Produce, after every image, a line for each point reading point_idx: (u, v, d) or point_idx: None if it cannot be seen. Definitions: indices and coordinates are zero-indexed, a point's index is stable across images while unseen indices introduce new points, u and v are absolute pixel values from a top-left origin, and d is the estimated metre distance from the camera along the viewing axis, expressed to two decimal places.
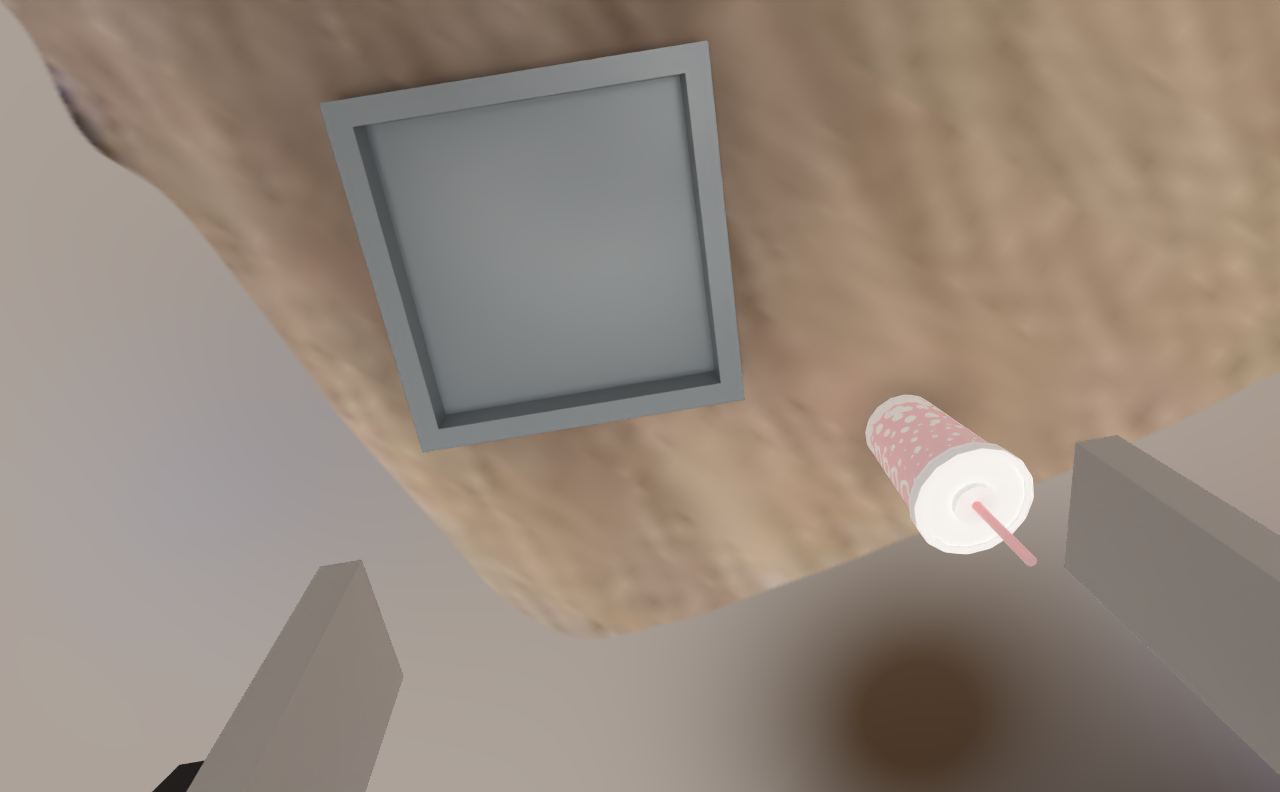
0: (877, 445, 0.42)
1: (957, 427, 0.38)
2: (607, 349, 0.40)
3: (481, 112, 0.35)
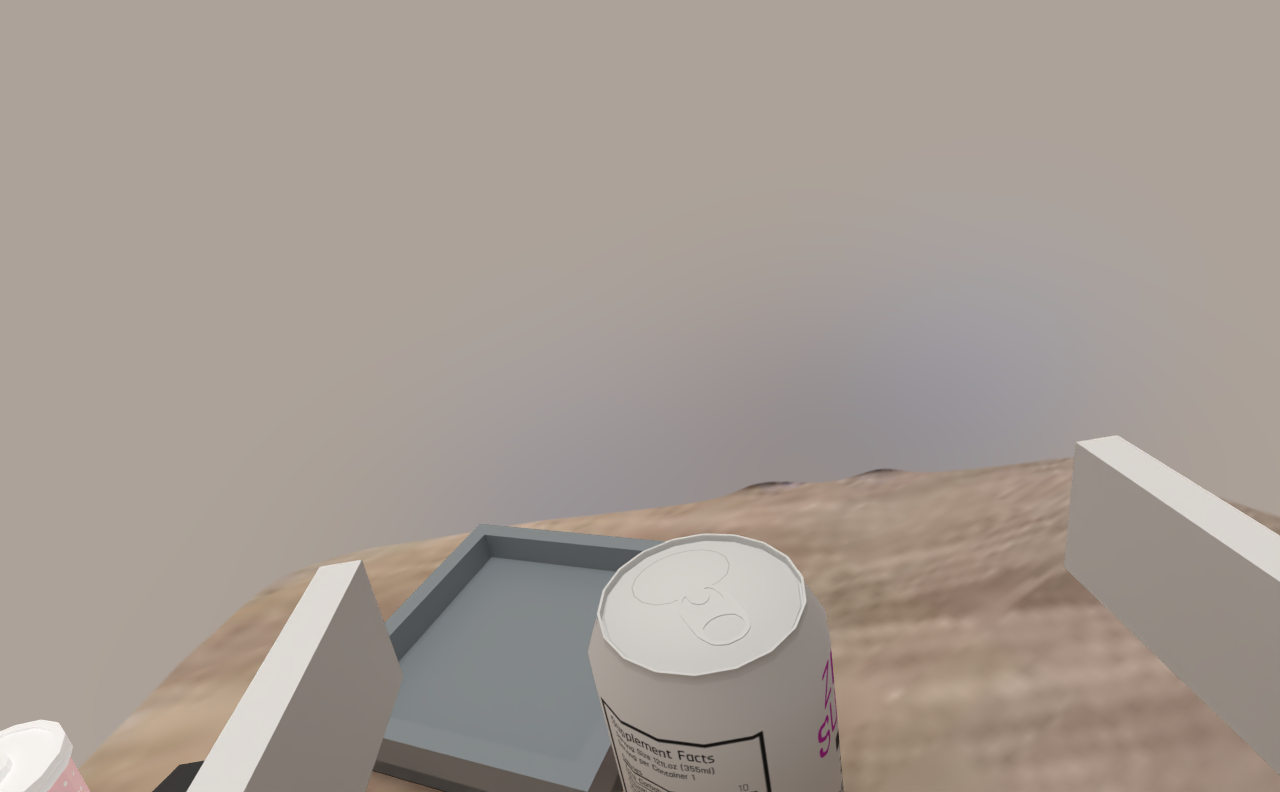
0: None
1: None
2: (436, 658, 0.44)
3: None
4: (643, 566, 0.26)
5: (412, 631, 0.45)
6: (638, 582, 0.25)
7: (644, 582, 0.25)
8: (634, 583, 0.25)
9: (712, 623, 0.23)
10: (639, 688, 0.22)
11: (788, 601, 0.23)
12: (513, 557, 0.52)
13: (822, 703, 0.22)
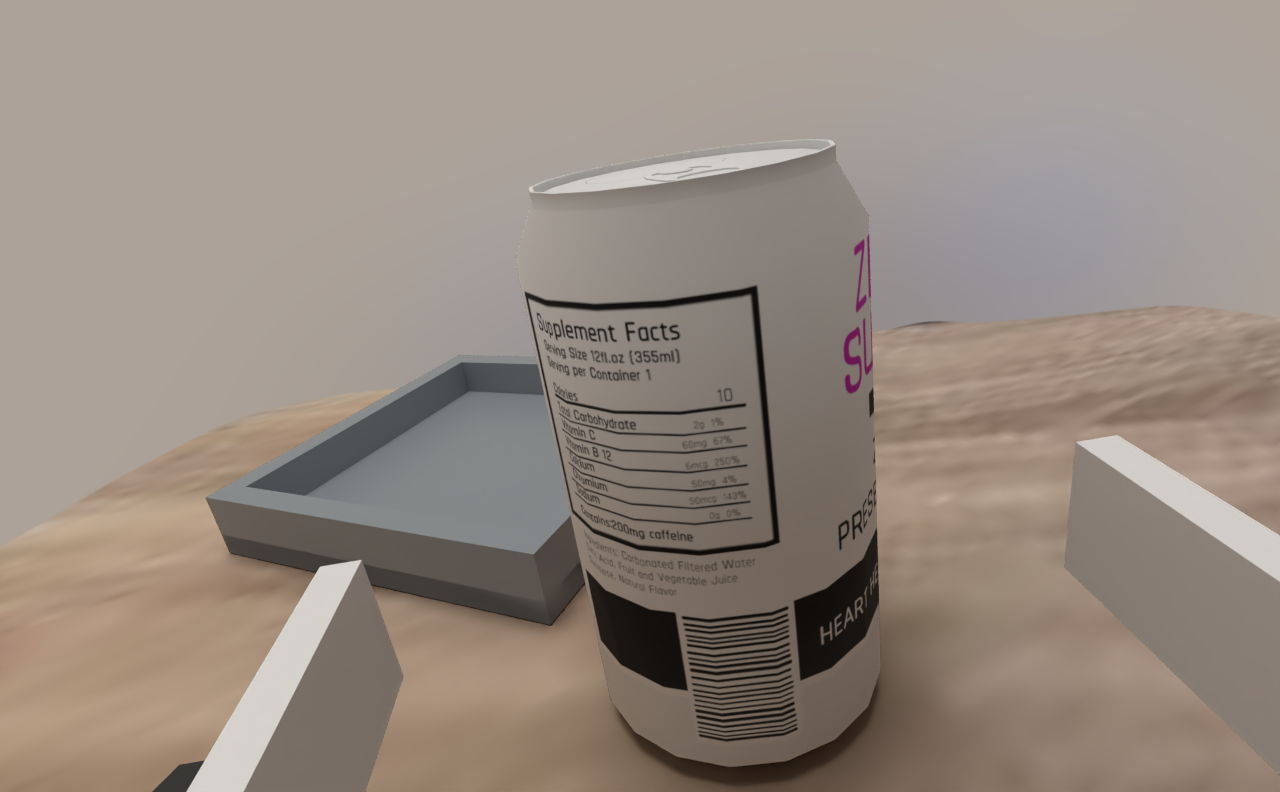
0: None
1: None
2: (386, 467, 0.37)
3: None
4: (606, 175, 0.19)
5: (363, 441, 0.38)
6: (596, 179, 0.18)
7: (604, 178, 0.18)
8: (590, 180, 0.18)
9: (691, 176, 0.15)
10: (572, 232, 0.14)
11: None
12: (493, 389, 0.45)
13: (852, 293, 0.15)
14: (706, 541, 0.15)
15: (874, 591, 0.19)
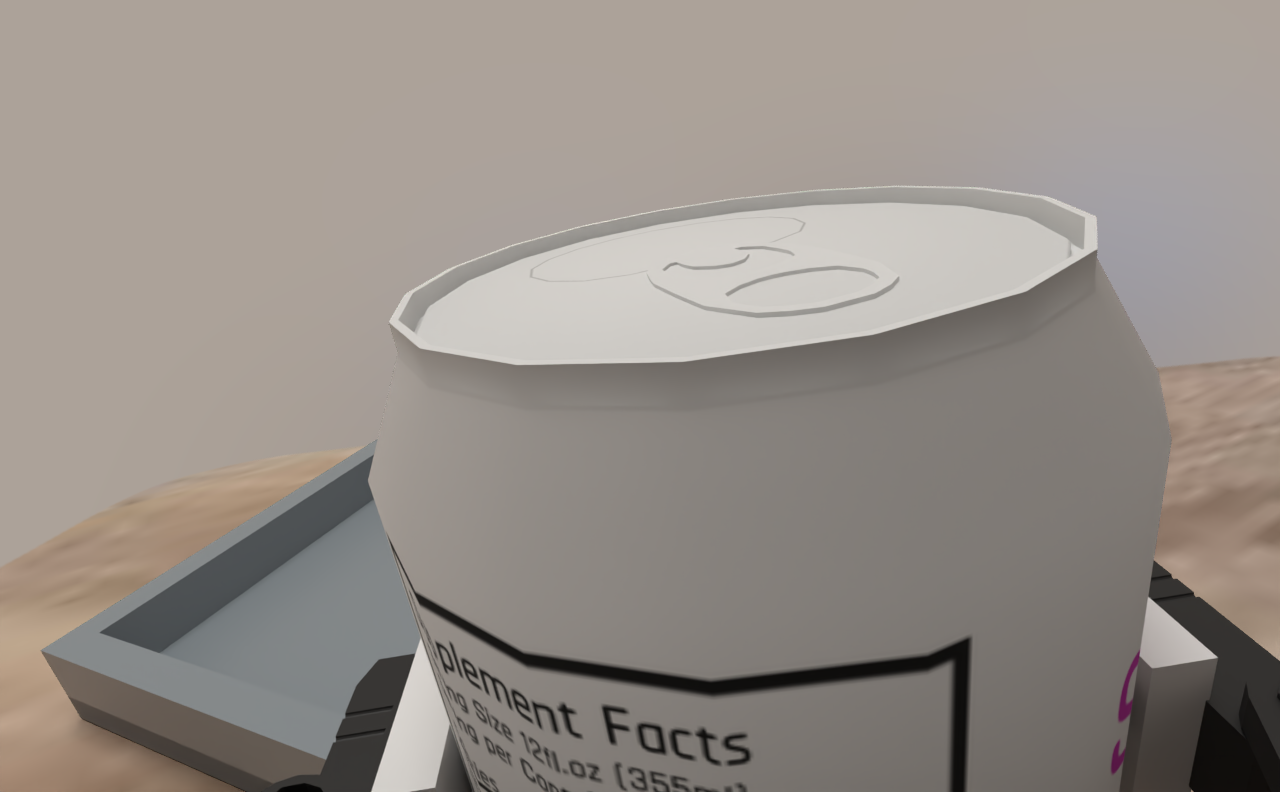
0: None
1: None
2: (305, 584, 0.28)
3: None
4: (576, 247, 0.10)
5: (279, 545, 0.30)
6: (552, 262, 0.09)
7: (568, 261, 0.09)
8: (542, 264, 0.09)
9: (759, 286, 0.07)
10: (465, 454, 0.06)
11: (1018, 238, 0.07)
12: None
13: (1150, 575, 0.06)
14: None
15: None
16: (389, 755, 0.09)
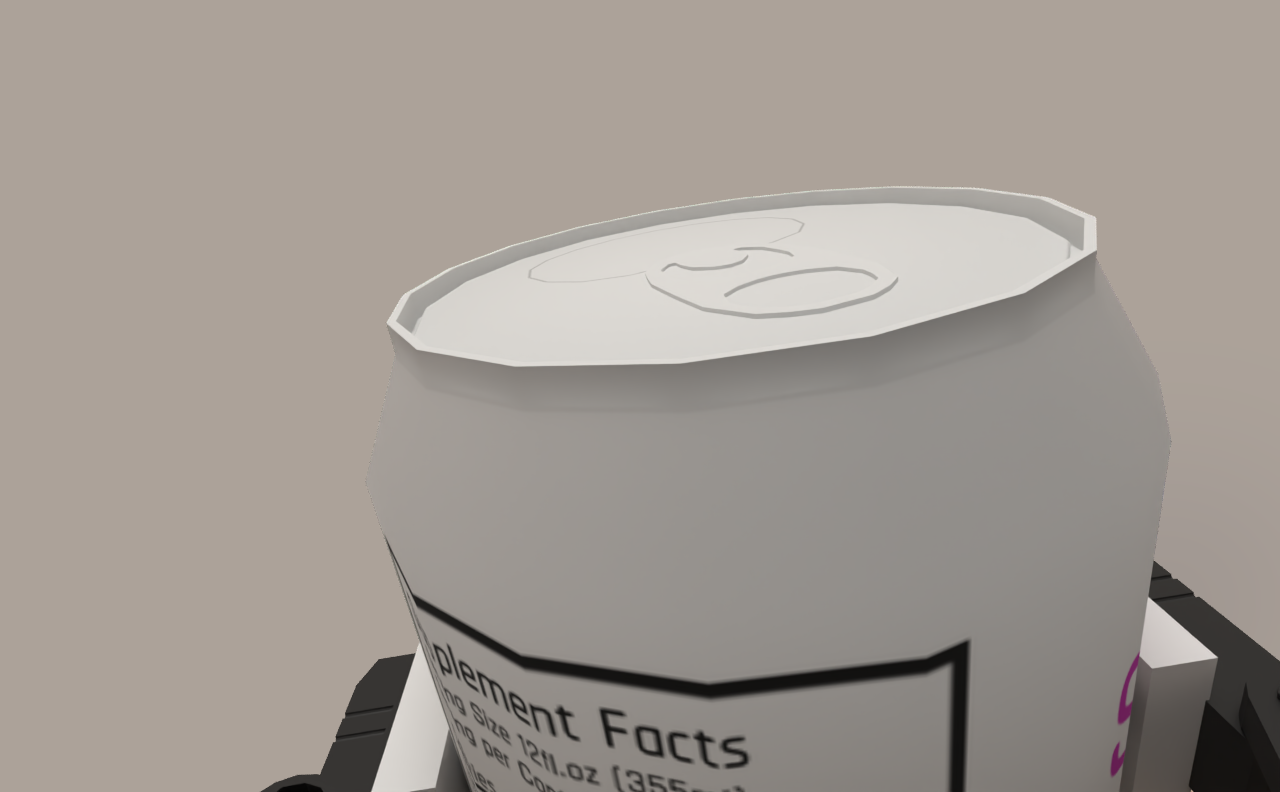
0: None
1: None
2: None
3: None
4: (574, 248, 0.10)
5: None
6: (551, 263, 0.09)
7: (566, 261, 0.09)
8: (540, 264, 0.09)
9: (758, 288, 0.07)
10: (462, 456, 0.05)
11: (1017, 239, 0.07)
12: None
13: (1150, 577, 0.06)
14: None
15: None
16: (389, 755, 0.09)
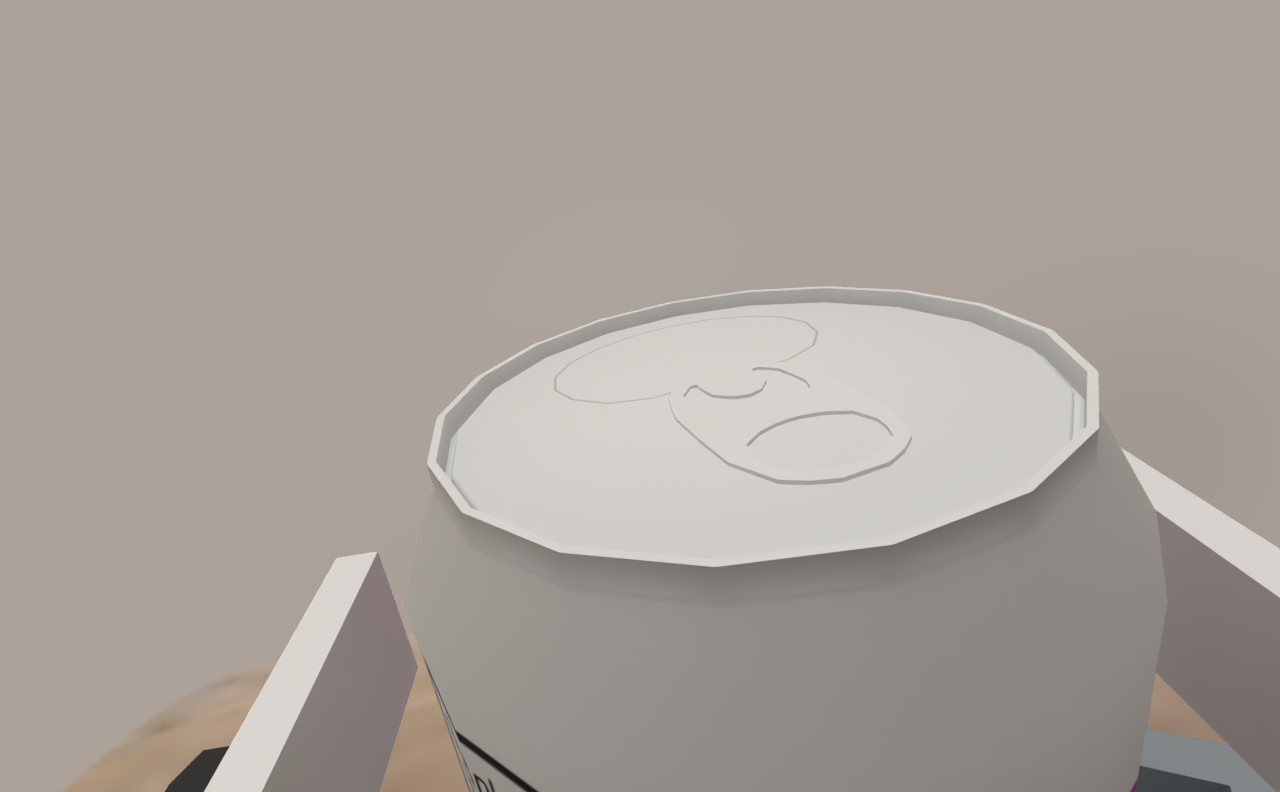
0: None
1: None
2: None
3: None
4: (595, 345, 0.10)
5: None
6: (574, 368, 0.10)
7: (590, 368, 0.10)
8: (564, 370, 0.10)
9: (778, 433, 0.07)
10: (505, 618, 0.06)
11: (1024, 383, 0.07)
12: None
13: (1147, 716, 0.07)
14: None
15: None
16: None
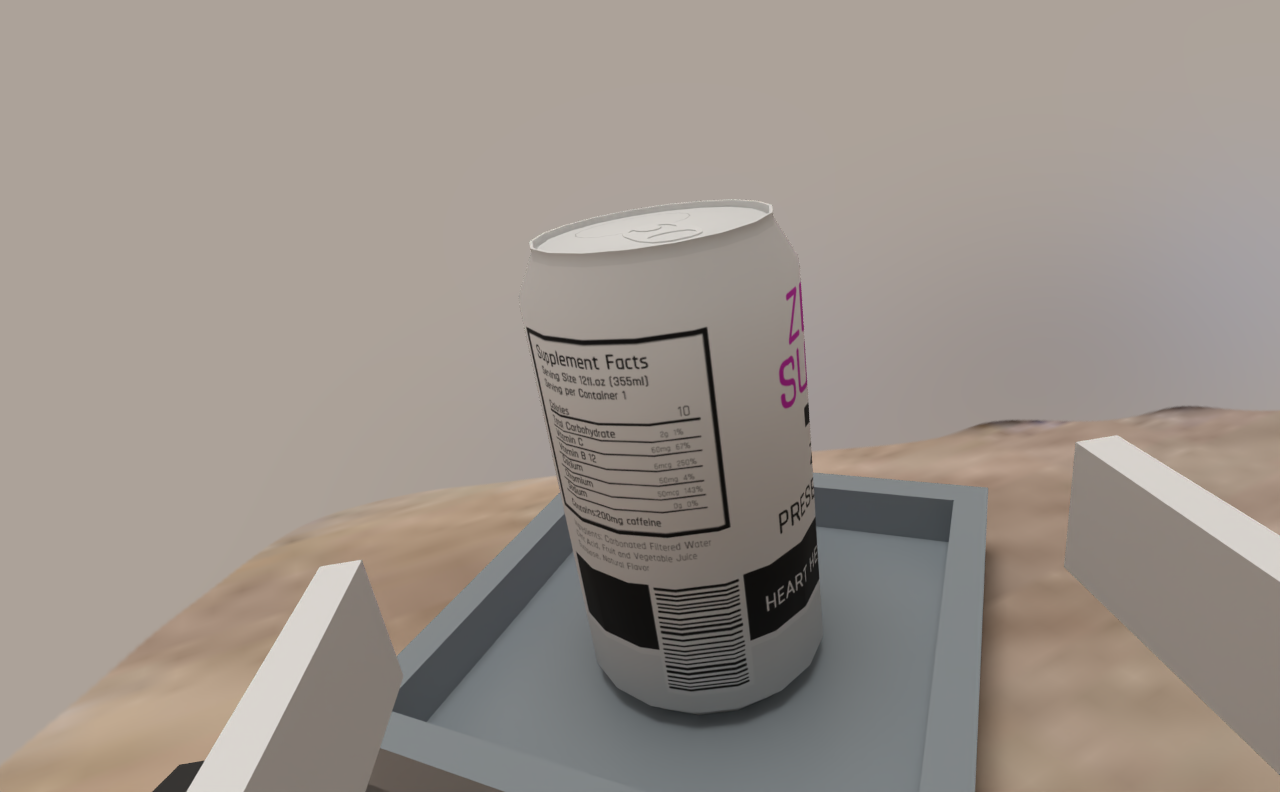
0: None
1: None
2: (552, 644, 0.27)
3: (934, 636, 0.24)
4: (593, 226, 0.23)
5: (511, 600, 0.28)
6: (583, 231, 0.22)
7: (590, 230, 0.22)
8: (579, 232, 0.22)
9: (659, 236, 0.19)
10: (563, 284, 0.18)
11: (751, 219, 0.19)
12: None
13: (785, 330, 0.19)
14: (671, 526, 0.19)
15: (814, 569, 0.23)
16: None
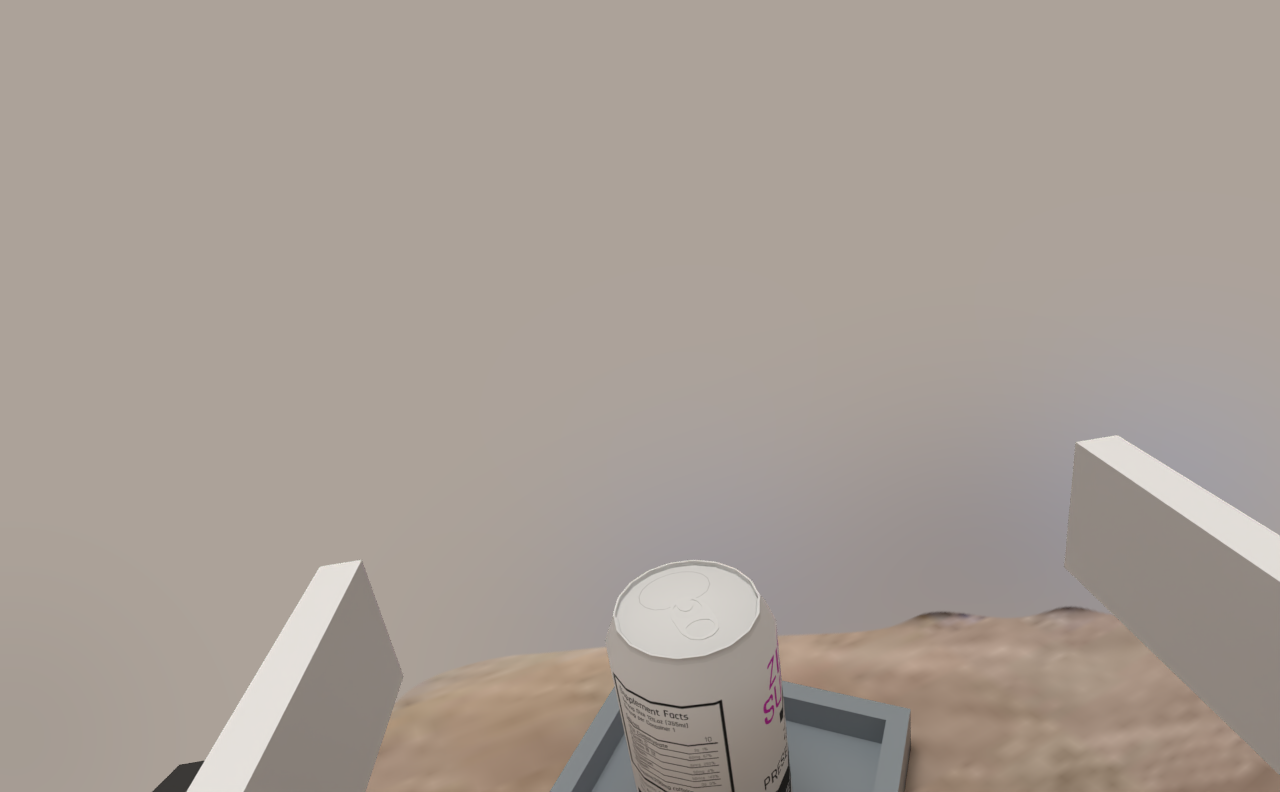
0: None
1: None
2: None
3: None
4: (648, 581, 0.36)
5: (585, 786, 0.42)
6: (643, 593, 0.35)
7: (648, 593, 0.35)
8: (641, 593, 0.35)
9: (692, 624, 0.33)
10: (639, 666, 0.31)
11: (747, 612, 0.33)
12: None
13: (767, 685, 0.32)
14: None
15: None
16: None
